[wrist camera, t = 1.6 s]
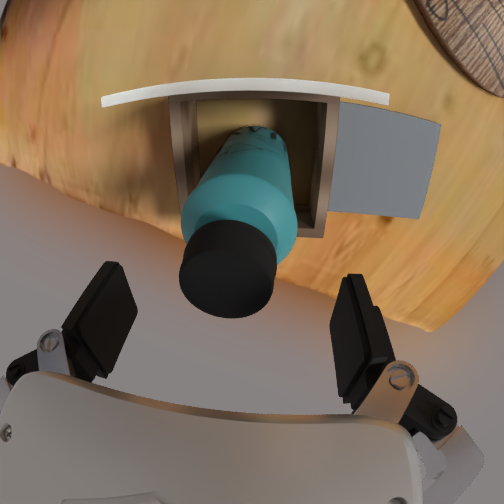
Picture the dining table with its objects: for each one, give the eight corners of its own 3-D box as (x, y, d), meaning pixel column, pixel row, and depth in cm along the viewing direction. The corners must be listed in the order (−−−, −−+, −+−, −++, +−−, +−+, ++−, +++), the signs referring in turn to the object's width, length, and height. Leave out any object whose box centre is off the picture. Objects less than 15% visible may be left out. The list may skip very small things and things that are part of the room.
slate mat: (337, 101, 23) (339, 101, 22) (436, 122, 22) (441, 124, 21) (326, 206, 30) (327, 210, 29) (415, 215, 29) (418, 219, 28)
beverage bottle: (298, 137, 25) (344, 259, 9) (271, 190, 29) (265, 353, 13) (238, 111, 24) (164, 185, 8) (215, 167, 28) (138, 311, 12)
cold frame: (185, 83, 22) (101, 96, 10) (328, 84, 22) (389, 93, 10) (195, 209, 31) (148, 304, 19) (316, 214, 30) (340, 315, 18)
